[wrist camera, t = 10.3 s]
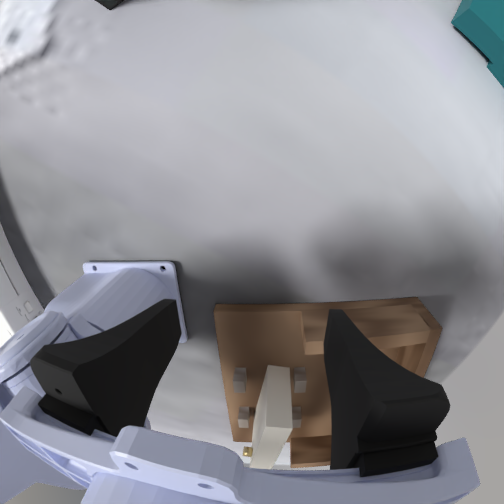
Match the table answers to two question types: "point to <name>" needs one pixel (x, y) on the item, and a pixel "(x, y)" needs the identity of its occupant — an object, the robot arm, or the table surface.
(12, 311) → the laminator
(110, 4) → the ceramic cat
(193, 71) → the table surface
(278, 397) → the door
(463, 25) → the teal l-shaped bracket
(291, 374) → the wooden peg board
